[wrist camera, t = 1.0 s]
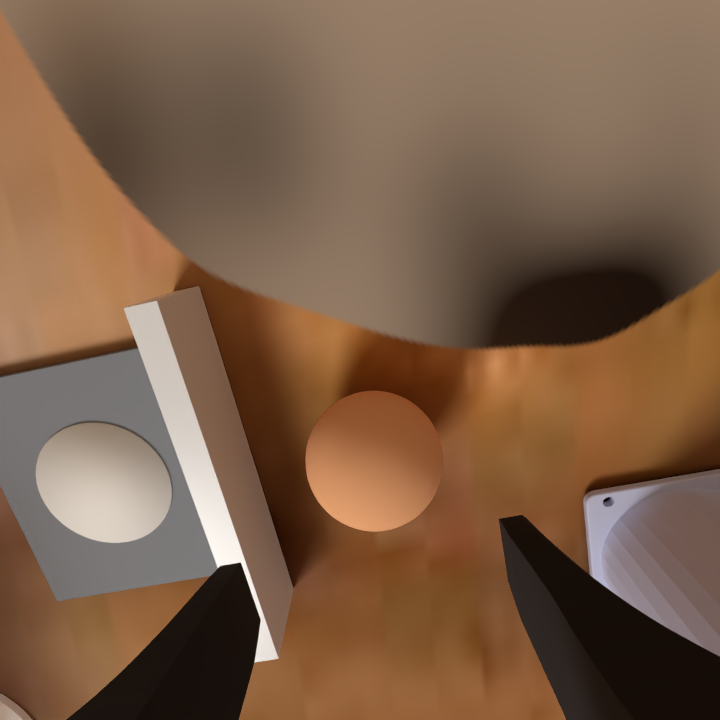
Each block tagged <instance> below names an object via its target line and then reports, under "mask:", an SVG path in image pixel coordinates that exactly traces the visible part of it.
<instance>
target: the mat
mask: <svg viewBox="0 0 720 720" xmlns="http://www.w3.org/2000/svg"><path fill="white" fill-rule="evenodd" d="M0 486H1V488H2V490H3V492H4V494H5V497H6V499H7V501H8V503H9V505H10V507H11V509H12V511H13V513H14V515H15V517H16V519H17V521H18V523H19V525H20V527H21V529H22V531H23V533H24V535H25V537H26V539H27V541H28V543H29V545H30V547H31V549H32V551H33V553H34V556H35V558H36V560H37V562H38V564H39V566H40V568H41V570H42V572H43V574H44V576H45V578H46V580H47V582H48V584H49V586H50V588H51V590H52V592H53V594H54V596H55V598H56V600H57V601H62V600H68V599H74V598H80V597H86V596H92V595H98V594H104V593H110V592H116V591H122V590H128V589H134V588H140V587H146V586H152V585H158V584H164V583H170V582H176V581H182V580H188V579H194V578H200V577H206V576H211V575H212V574H213V573H214V572H215V571H216V570H217V569H218V567H217V564H216V562H215V559H214V556H213V553H212V551H211V548H210V545H209V542H208V539H207V537H206V534H205V531H204V528H203V526H202V523H201V520H200V517H199V515H198V512H197V509H196V506H195V504H194V501H193V498H192V495H191V493H190V490H189V487H188V484H187V482H186V479H185V476H184V473H183V470H182V468H181V465H180V462H179V459H178V457H177V454H176V451H175V448H174V446H173V443H172V440H171V437H170V435H169V432H168V429H167V426H166V424H165V421H164V418H163V415H162V412H161V410H160V407H159V404H158V401H157V399H156V396H155V393H154V390H153V388H152V385H151V382H150V379H149V377H148V374H147V371H146V368H145V366H144V363H143V360H142V357H141V354H140V352H139V349H138V347H135V348H130V349H126V350H121V351H116V352H111V353H107V354H102V355H97V356H93V357H88V358H83V359H78V360H74V361H69V362H64V363H59V364H55V365H50V366H45V367H40V368H36V369H31V370H26V371H21V372H17V373H12V374H7V375H3V376H0Z"/></svg>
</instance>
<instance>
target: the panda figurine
mask: <svg viewBox="0 0 720 720" xmlns="http://www.w3.org/2000/svg"><path fill="white" fill-rule="evenodd" d="M0 720H32V719H31V717H30V716H29V715H28V714H27V713H26V712H25V711H24V710H23V709H22V708H21V707H19V706H18V705H17V704H16V703H14V702H13V701H12V700H10V699H9V698H7V697H6V696H4V695H3V694H1V693H0Z"/></svg>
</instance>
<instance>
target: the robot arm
mask: <svg viewBox="0 0 720 720" xmlns="http://www.w3.org/2000/svg"><path fill="white" fill-rule="evenodd" d="M607 497H610V499H609V500H608V501H606V502H603V500H604V499H605V498H607ZM583 503H584V514H585V525H586V536H587V547H588V558H589V569H590V575H589V574H588V573H587V572H586V571H584V570H583V569H582V568H581V567H579V566H578V565H577V564H576V563H575V562H573V561H572V560H571V559H570V558H569V557H568V556H566V555H565V554H564V553H563V552H562V551H561V550H559V549H558V548H557V547H556V546H555V545H554V544H553V543H552V542H551V541H549V540H548V539H547V538H546V537H545V536H544V535H543V534H542V533H541V532H540V531H539V530H538V529H537V528H536V527H535V526H534V525H533V524H532V523H531V522H530V521H529V520H528V519H527V518H525V517H524V516H523V515H519V516H513V517H508V518H502V519H499V523H500V529H501V536H502V543H503V549H504V556H505V563H506V569H507V576H508V582H509V585H510V588H511V591H512V594H513V597H514V600H515V603H516V606H517V609H518V612H519V615H520V617H521V620H522V622H523V625H524V627H525V629H526V631H527V634H528V636H529V638H530V640H531V642H532V645H533V647H534V649H535V651H536V653H537V656H538V658H539V660H540V662H541V664H542V667H543V669H544V671H545V673H546V675H547V678H548V680H549V682H550V684H551V686H552V688H553V691H554V693H555V695H556V697H557V699H558V702H559V704H560V706H561V708H562V710H563V713H564V715H565V718H566V720H720V469H717V470H711V471H705V472H699V473H693V474H687V475H681V476H675V477H669V478H664V479H658V480H652V481H646V482H640V483H634V484H628V485H622V486H616V487H610V488H605V489H599V490H593V491H590V492H588V493H587V494H586V495H585V497H584V500H583ZM260 622H261V619H260V616H259V613H258V611H257V608H256V605H255V602H254V599H253V596H252V593H251V590H250V587H249V584H248V582H247V579H246V576H245V573H244V570H243V567H242V564H241V562H240V563H234V564H228V565H223V566H220V567H219V568H218V569H217V570H216V571H215V572H214V573H213V574H212V575H211V576H210V577H209V578H208V580H207V581H206V582H205V583H204V584H203V585H202V586H201V587H200V589H199V590H198V591H197V592H196V593H195V594H194V595H193V597H192V598H191V599H190V600H189V601H188V602H187V603H186V604H185V606H184V607H183V608H182V609H181V610H180V611H179V612H178V613H177V615H176V616H175V617H174V618H173V619H172V620H171V621H170V622H169V623H168V625H167V626H166V627H165V628H164V629H163V630H162V631H161V632H160V633H159V634H158V635H157V636H156V637H155V638H154V639H153V640H152V641H151V642H150V644H149V645H148V646H147V647H146V648H145V649H144V650H143V651H142V652H141V653H140V654H139V655H138V656H137V657H136V658H135V659H134V660H133V661H132V662H131V663H130V664H129V665H128V666H127V667H126V668H125V669H124V670H123V671H122V672H121V673H120V674H119V675H118V676H117V677H115V678H114V679H113V680H112V681H111V682H110V683H109V684H108V685H107V686H106V687H104V688H103V689H102V690H101V691H100V692H99V693H98V694H97V695H96V696H94V697H93V698H92V699H91V700H90V701H89V702H88V703H86V704H85V705H84V706H83V707H81V708H80V709H79V710H78V711H77V712H75V713H74V714H73V715H72V716H70V717H69V718H68V719H67V720H239V716H240V713H241V709H242V705H243V702H244V698H245V695H246V691H247V687H248V684H249V680H250V676H251V672H252V669H253V665H254V661H255V656H256V649H257V643H258V637H259V629H260Z"/></svg>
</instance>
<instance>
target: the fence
mask: <svg viewBox="0 0 720 720" xmlns="http://www.w3.org/2000/svg"><path fill="white" fill-rule="evenodd" d="M124 310H125V313H126V316H127V319H128V321H129V324H130V327H131V330H132V332H133V335H134V338H135V341H136V343H137V346H138V349H139V352H140V354H141V357H142V360H143V363H144V366H145V368H146V371H147V374H148V377H149V379H150V382H151V385H152V388H153V390H154V393H155V396H156V399H157V401H158V404H159V407H160V410H161V412H162V415H163V418H164V421H165V424H166V426H167V429H168V432H169V435H170V437H171V440H172V443H173V446H174V448H175V451H176V454H177V457H178V459H179V462H180V465H181V468H182V470H183V473H184V476H185V479H186V482H187V484H188V487H189V490H190V493H191V495H192V498H193V501H194V504H195V506H196V509H197V512H198V515H199V517H200V520H201V523H202V526H203V528H204V531H205V534H206V537H207V539H208V542H209V545H210V548H211V551H212V553H213V556H214V559H215V562H216V564H217V567H218V568H219V567H220V566H223V565H228V564H234V563H240V562H241V564H242V567H243V570H244V573H245V576H246V579H247V582H248V584H249V587H250V590H251V593H252V596H253V599H254V602H255V605H256V608H257V611H258V613H259V616H260V619H261V622H260V629H259V637H258V643H257V649H256V656H255V661H254V662H260V661H267V660H274V659H279V654H280V649H281V645H282V640H283V635H284V631H285V626H286V621H287V617H288V612H289V607H290V602H291V598H292V593H293V586H292V582H291V579H290V576H289V573H288V570H287V566H286V563H285V560H284V557H283V553H282V550H281V547H280V544H279V541H278V537H277V534H276V531H275V528H274V525H273V521H272V518H271V515H270V512H269V509H268V505H267V502H266V499H265V496H264V492H263V489H262V486H261V483H260V480H259V476H258V473H257V470H256V467H255V464H254V460H253V457H252V454H251V451H250V448H249V444H248V441H247V438H246V435H245V432H244V428H243V425H242V422H241V419H240V415H239V412H238V409H237V406H236V403H235V399H234V396H233V393H232V390H231V387H230V383H229V380H228V377H227V374H226V371H225V367H224V364H223V361H222V358H221V354H220V351H219V348H218V345H217V342H216V338H215V335H214V332H213V329H212V326H211V322H210V319H209V316H208V313H207V310H206V306H205V303H204V300H203V297H202V293H201V290H200V287H199V286H197V287H192V288H188V289H183V290H178V291H174V292H170V293H167V294H164V295H161V296H158V297H155V298H152V299H149V300H146V301H143V302H140V303H137V304H134V305H131V306H128V307H125V308H124Z"/></svg>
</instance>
